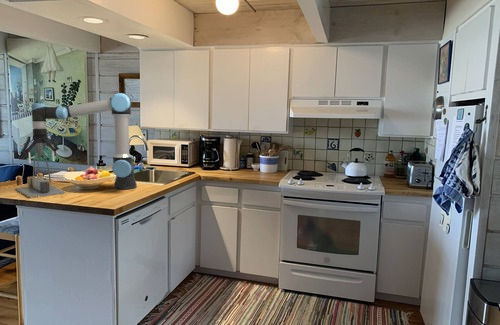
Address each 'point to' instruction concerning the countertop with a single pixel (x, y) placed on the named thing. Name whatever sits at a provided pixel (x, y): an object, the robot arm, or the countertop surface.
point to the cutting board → (35, 193)
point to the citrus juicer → (39, 152)
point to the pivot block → (29, 181)
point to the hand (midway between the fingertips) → (41, 162)
